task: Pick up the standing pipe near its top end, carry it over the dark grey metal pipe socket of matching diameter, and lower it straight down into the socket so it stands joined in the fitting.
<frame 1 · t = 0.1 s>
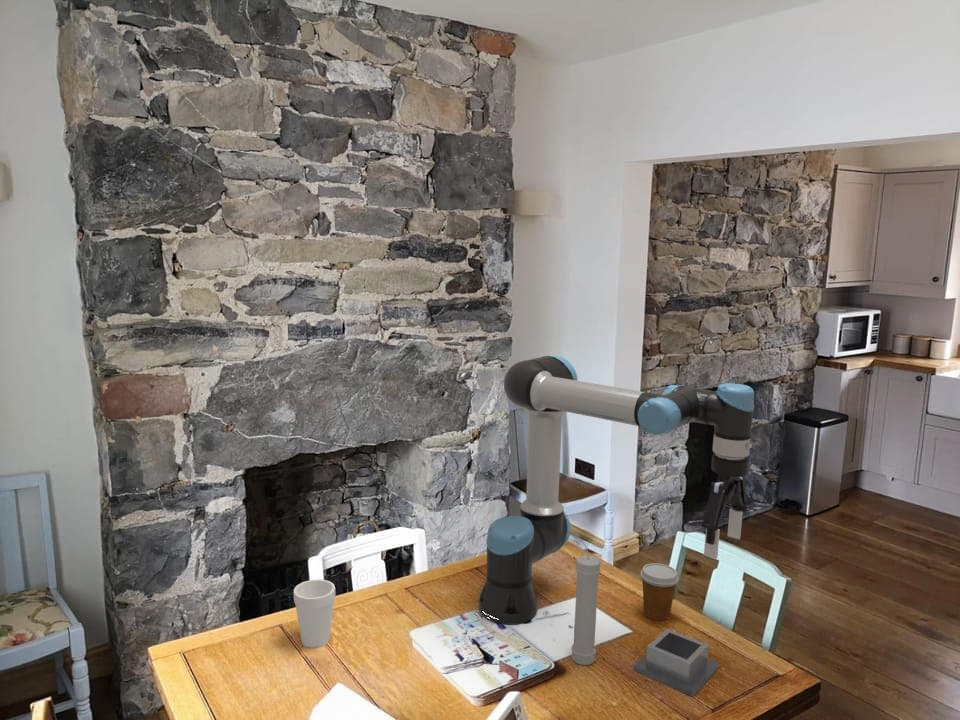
hand: (722, 546, 157), 28 cm above the table, tool pointing down, fingers open, 13 cm apart
foam cup: (315, 641, 166), on the table
pipe socket: (676, 668, 158), on the table
disposable coffee cup: (656, 615, 182), on the table
pipe: (581, 659, 161), on the table
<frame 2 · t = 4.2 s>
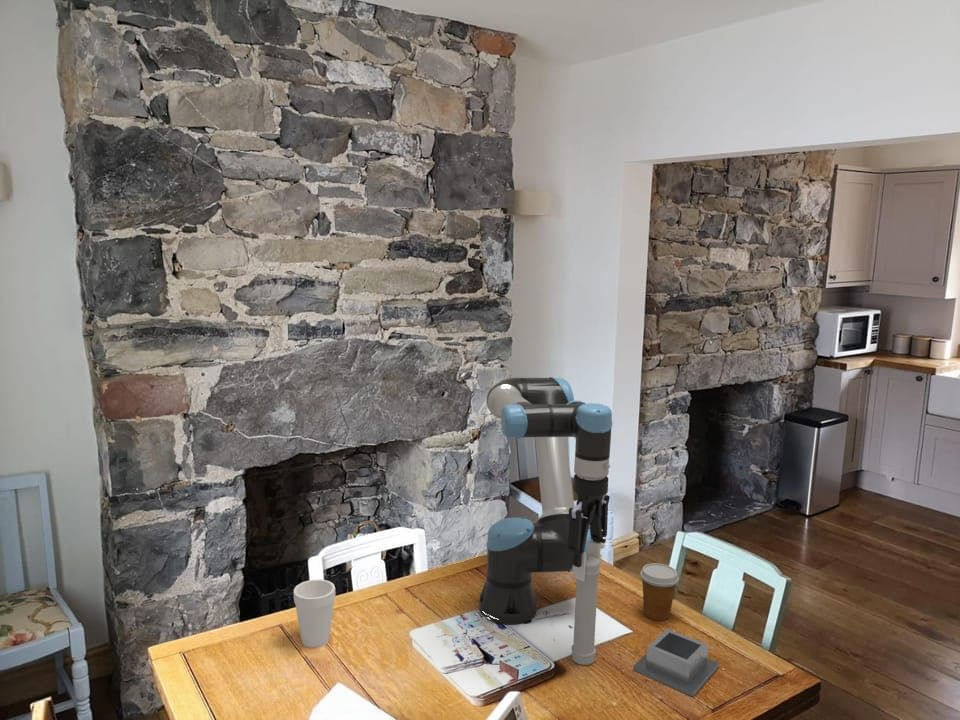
hand: (586, 573, 158), 21 cm above the table, tool pointing down, fingers closed on pipe, 5 cm apart
pipe: (581, 659, 161), on the table, touching gripper
everything else where it was.
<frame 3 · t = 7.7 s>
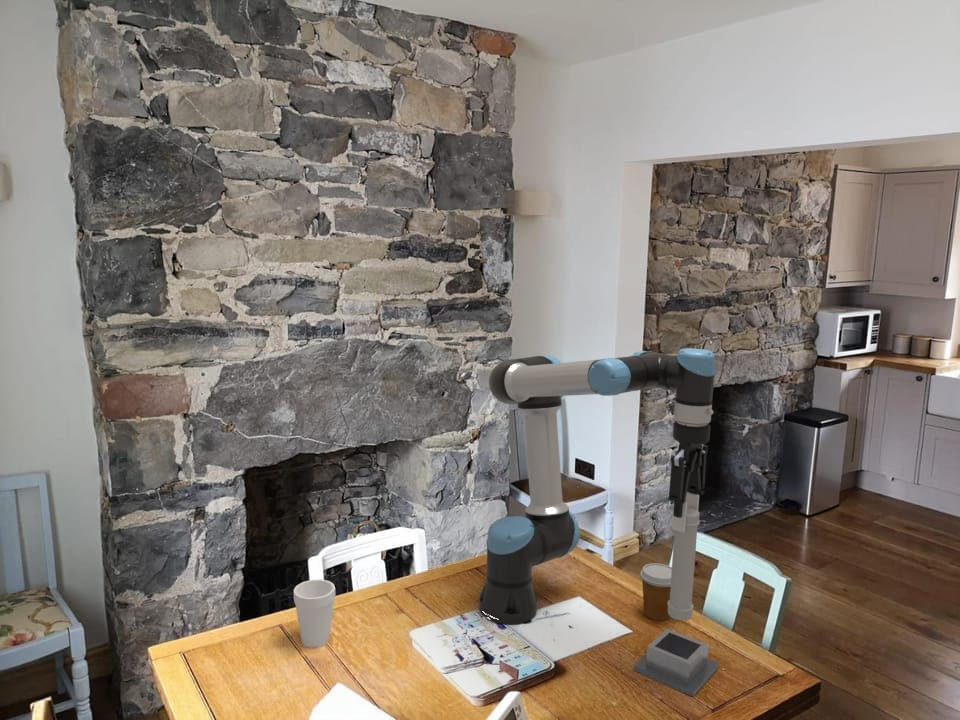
hand: (684, 525, 153), 34 cm above the table, tool pointing down, fingers closed on pipe, 5 cm apart
pipe: (677, 615, 156), point 13 cm above the table, touching gripper
everything else where it was.
when the fingers open (23 cm above the table, at t = 11.4 s): pipe drops 1 cm, resting on pipe socket.
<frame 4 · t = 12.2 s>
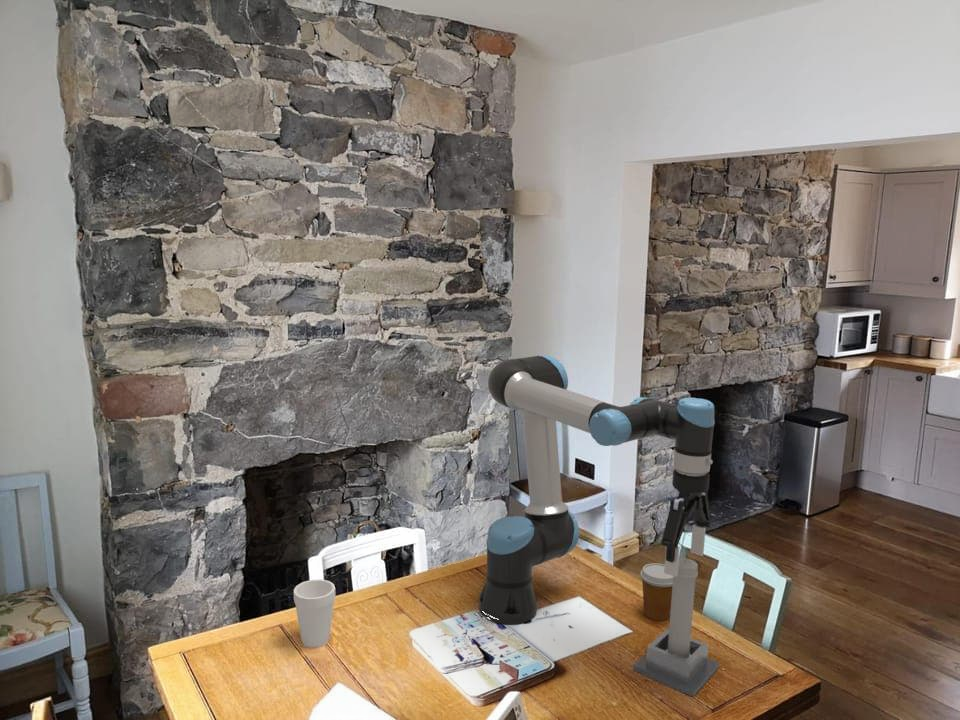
hand: (684, 563, 154), 25 cm above the table, tool pointing down, fingers open, 13 cm apart
pipe: (675, 664, 158), point 1 cm above the table, touching pipe socket
everything else where it was.
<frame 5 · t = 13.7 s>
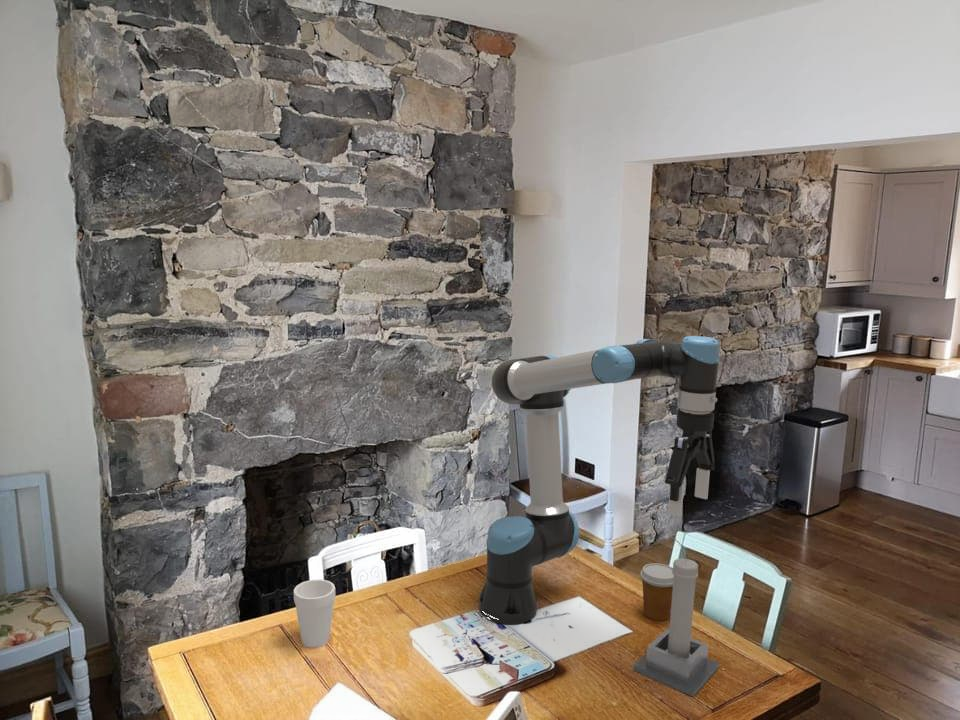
hand: (688, 505, 152), 39 cm above the table, tool pointing down, fingers open, 13 cm apart
nothing on the table moved.
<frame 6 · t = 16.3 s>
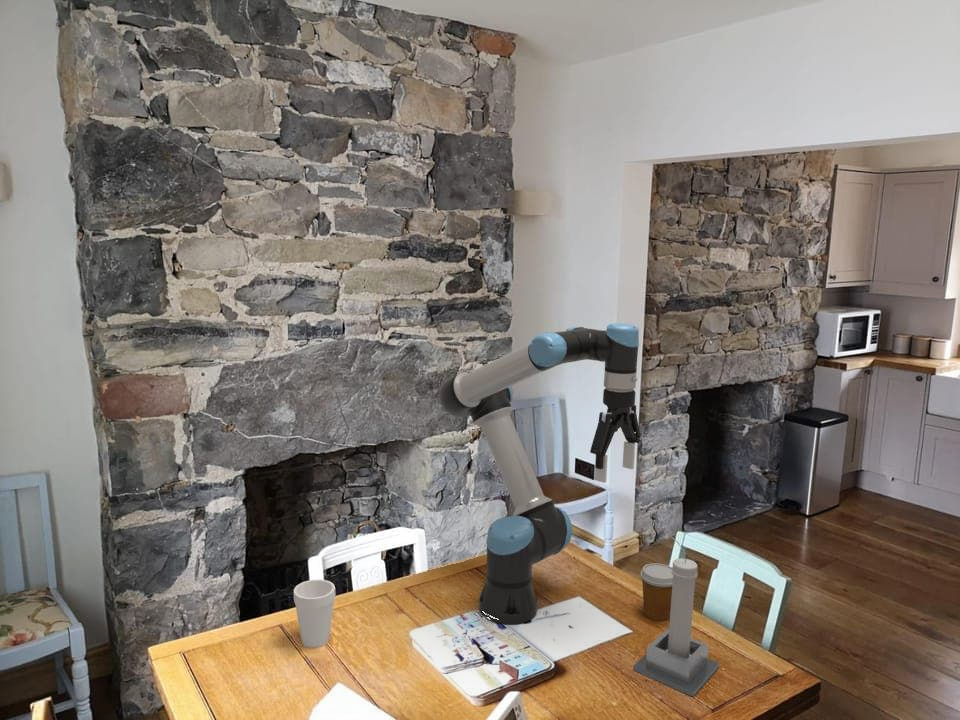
hand: (614, 474, 171), 39 cm above the table, tool pointing down, fingers open, 13 cm apart
nothing on the table moved.
at the end: pipe 0.2 cm off-centre on the pipe socket, point 1.0 cm above the pipe socket's base; pipe tilted 0°; the gripper is holding nothing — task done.
